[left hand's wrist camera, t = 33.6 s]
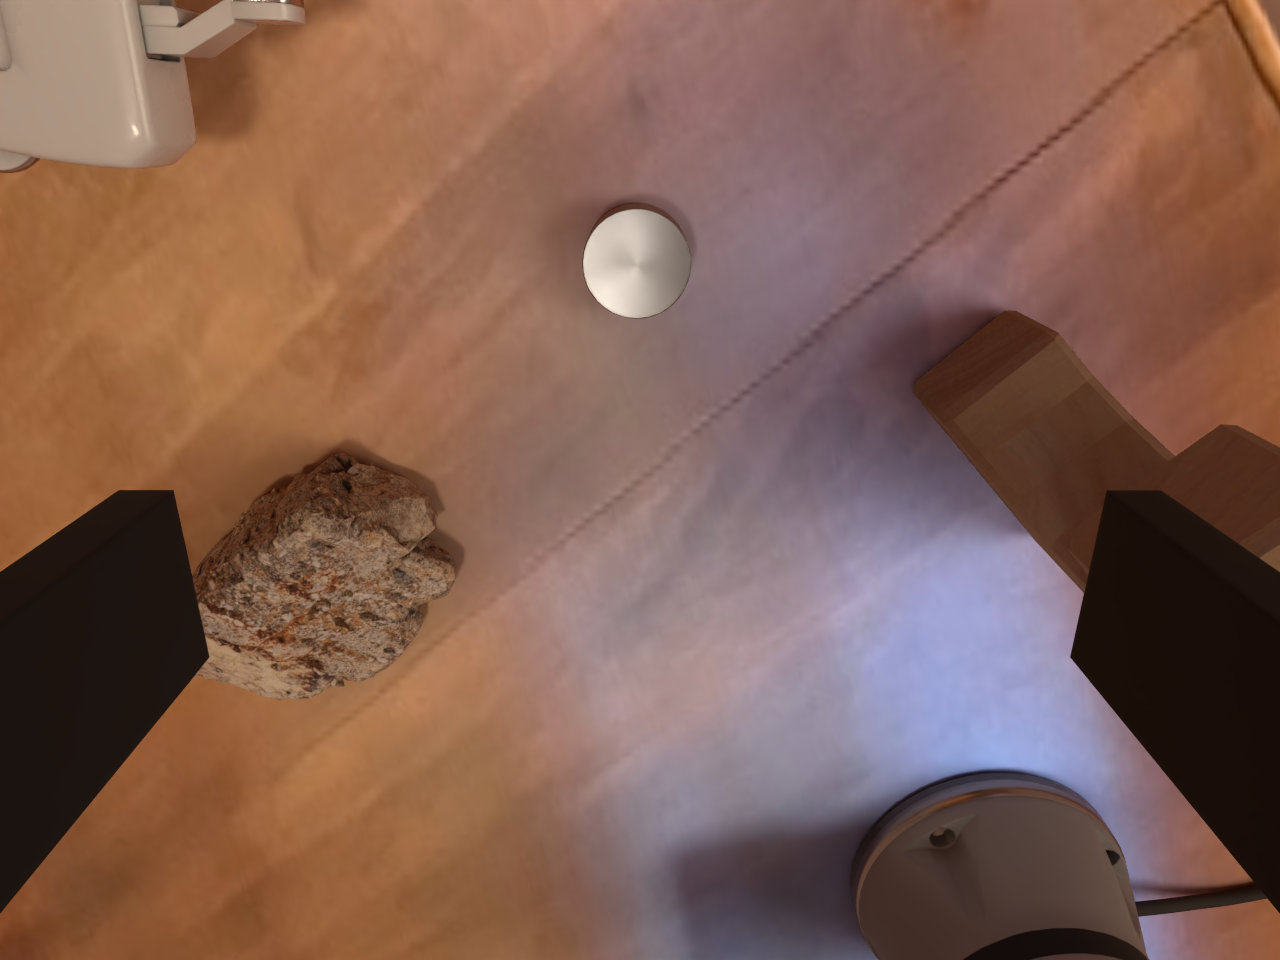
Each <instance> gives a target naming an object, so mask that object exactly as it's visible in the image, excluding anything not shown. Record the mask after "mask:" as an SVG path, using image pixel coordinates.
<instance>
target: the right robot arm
mask: <svg viewBox="0 0 1280 960" xmlns="http://www.w3.org/2000/svg"><path fill="white" fill-rule="evenodd" d="M257 24H269V25H306V21H305V11H304V2H303V0H222V1H221V2H219V3H217V4H216V5H214V6H213V7H211V8H210V9H208V10H207V11H205V12H203V13H200V12H195V11H191V10H187V9H182V8H178V7H177V6H176V0H0V173H15V172H20V171H23V170H26V169H28V168H30V167H31V166H33V165H34V164H35V163H36V162H37V161H39V159H40V158H41V159H46V160H52V161H59V162H65V163H72V164H80V165H89V166H100V167H111V168H154V167H163V166H169V165H172V164H174V163H176V162H177V161H178V160H179V159H181V158H182V157H183V156H184V155H185V154H186V153H187V152H188V151H189V150H190V149H191V148H192V147H193V146H194V144H195V142H196V128H195V122H194V115H193V109H192V102H191V96H190V90H189V83H188V77H187V70H186V64H185V58H215V57H216V56H218V55H219V54H220V53H222V52H223V51H225V50H226V49H228V48H229V47H231V46H232V45H233V44H235V43H236V42H238V41H239V40H241V39H242V38H243V37H245V36H246V35H248V34H249V33H251V32H252V31H254V30H255V29H256V28H257Z"/></svg>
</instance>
